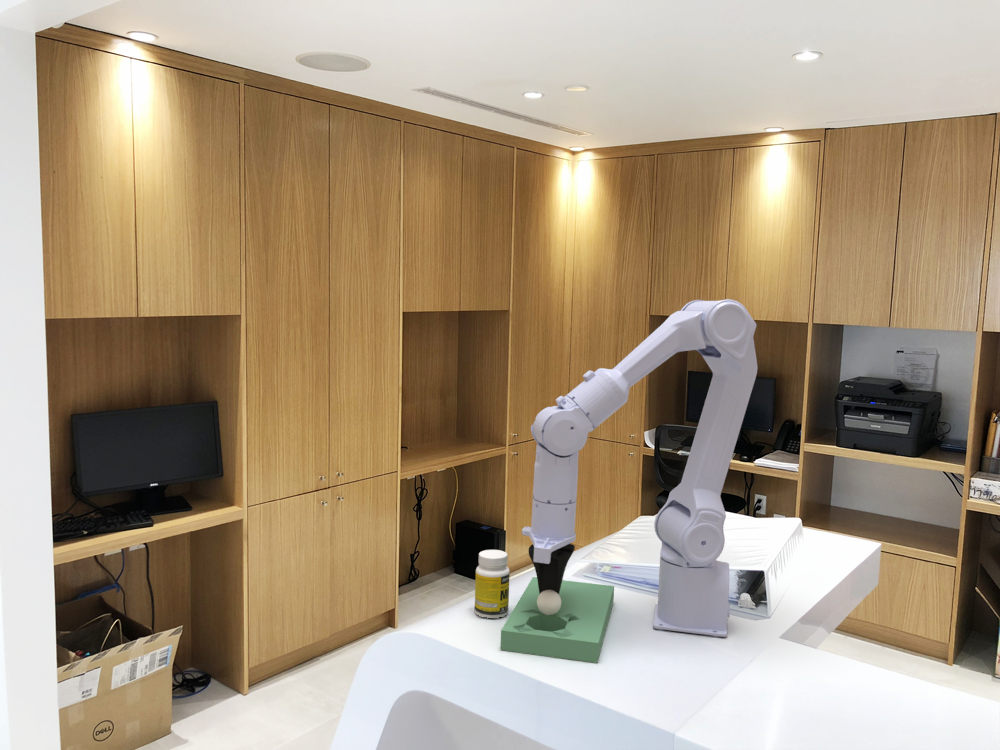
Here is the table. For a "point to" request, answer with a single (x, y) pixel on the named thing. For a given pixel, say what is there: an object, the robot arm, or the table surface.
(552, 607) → the ball
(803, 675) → the table surface
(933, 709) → the table surface
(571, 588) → the green
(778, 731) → the table surface
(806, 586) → the table surface
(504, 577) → the supplement bottle
